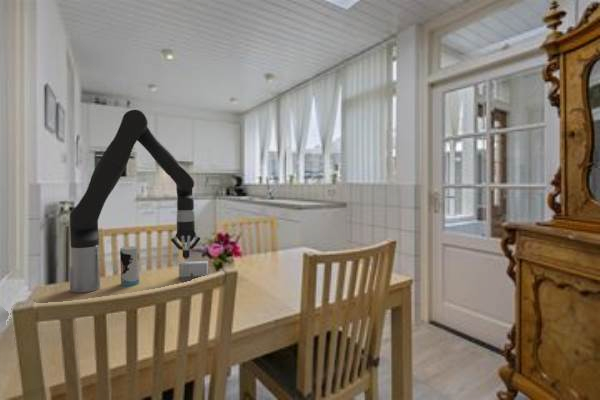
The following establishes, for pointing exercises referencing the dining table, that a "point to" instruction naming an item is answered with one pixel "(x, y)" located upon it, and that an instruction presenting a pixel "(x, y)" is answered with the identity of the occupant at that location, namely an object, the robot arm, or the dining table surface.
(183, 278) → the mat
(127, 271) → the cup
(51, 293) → the dining table surface
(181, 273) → the skincare box
